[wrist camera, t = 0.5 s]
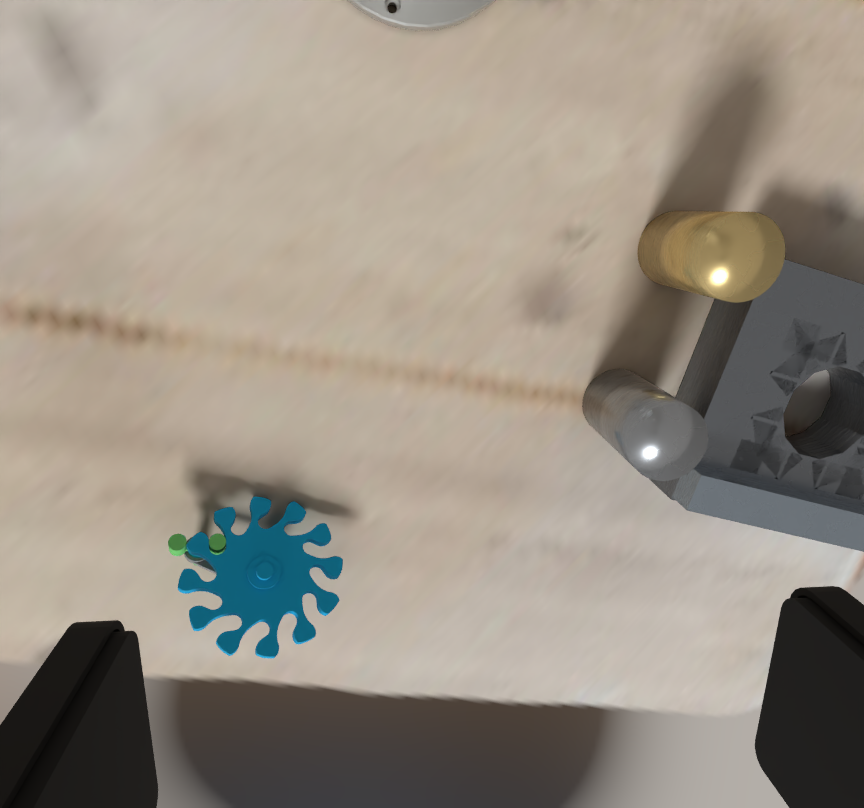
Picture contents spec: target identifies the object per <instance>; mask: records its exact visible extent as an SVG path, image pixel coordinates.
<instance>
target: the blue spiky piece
mask: <svg viewBox="0 0 864 808" xmlns="http://www.w3.org/2000/svg"><path fill="white" fill-rule="evenodd" d="M270 507H271V500H269V499H267V498H263V497H253V498H252V500H251V503H250V512H251V523H250V525H249V527H248V529H247V531H246V532H245V533H244V534H243V535H235V534H233V533H232V532H231V527H232V525H233V523H234V521H235V516H236V512H235V510H234V508H233V507H227V508H223V509H220V510H218V511H215V513H214V522H215V524H216V525H217V526H218V527H219V528H220V529H221V531H222V532H223V534H224V536H223V535H222V534H214V535H212V536H211V537H210V539H208V537H207V535H206V534H205V533H203V532H199V533H197V534H196V535H195V536H193V537H192V538H190V539H189V540H188V541H187V542H186V538H185V537H184V536H183V535H181V534H175V535H173V536H171V537H170V539H169V541H168V545H169V551H170V553H171V554H172V555H174V556H180V555H182V554H185V557H186V559H187V560H188V561H189V562H191V563H193V564H194V565H198V566H200V567H202V568H204V569H206V570H208V571H211V572H213V573H215V574H217V576H216V578H215V579H214V580H212V581H210V582H205V581H203V580H201V578H200V577H199V575H198V574H197V573H196V571H194V570H192V569H184V570H183V572H182V574H181V576H180V579H179V584H178V590H179V591H180V592H182V593H191V592H195V591H206V592H210V593H213V594H215V595H217V596H219V597H220V598H221V599H222V605H221V607H220V608H218V609H216V610H210V609H208V608H206V607H203V606H195V607H193V608H191V609H190V610H189V617H190V622H191V625H192V628H193V630H194V631H200V630H202V629H204V628H205V627H206V626H207V625H208V624H209V623H211V622H212V621H213V620H215V619H217V618H220V617H223V616H229V615H237V616H239V617H240V618H241V620H242V626H241V627H240V628H239V629H237V630H234V631H227V632H224V633H222V634H221V635H220V636H219V637H218V639H217V641H216V644H217V646H218V647H219V648H220V649H221V650H222V651H223V652H224V653H226V654H227V655H229V656H230V655H233V654H234V653H235V652H236V651H237V649H238V647H239V643H240V640H241V638H242V636H243V635H244V634H245V632H246V631H247V630H248V629H249V628H251V627H252V626H253V625H255V624H256V623H258V622H265V623H267V624H268V625H269V628H270V631H269V634H268V635H267V636H266V637H264V638H263V639H261V640H260V641H259V643H258V644H257V646H256V650H255V653H256V655H257V656H259V657H262V658H275V656H276V655H277V653H278V651H279V645H278V641H277V630H278V626H279V623H280V621H281V619H282V617H283V616H284V615H285V614H287V613H291V614H293V615H295V617H296V618H297V625H296V627H295V629H294V631H293V641H294V642H295V643H296V644H302V643H305V642H307V641H309V640H311V639H313V638H314V637H315V635H316V630H315V628H314V626H313V625H312V624H311V623H310V622H309V621H308V620H307V618H306V616H305V614H304V611H303V606H302V597H303V595H304V594H306V593H311V594H313V595H314V596H315V597H316V600H317V609H318V611H319V612H320V613H321V614H322V615H325V616H326V615H327V614H329V613H330V612H331V611H332V610H333V609H334V608H335V606H336V605H337V603H338V602H339V598H338V596H337V595H336V594H334V593H331V592H327V591H325V590H323V589H321V588H320V587H319V586H317V585H316V583H315V582H314V581H313V579H312V578H311V576H310V574H309V571H310V569H311V568H313V567H318V568H320V569H321V570H322V571H323V573H324V574H325V575H326V577H328V578H330V579H337V578H338V577H339V575H340V573H341V570H342V564H343V559H342V558H340V557H337V556H333V557H330V558H316V557H313V556H311V555H309V554H307V553H305V552H304V550H303V544H304V543H306V542H311V543H314V544H316V545H318V546H325V545H327V544H328V543H329V542H330V540H331V534H330V531H329V528H328V527H327V525H326V524H324V523H322V524H319V525H317V526H316V527H315V528H314V529H313V530H312V531H310V532H308V533H306V534H303V535H297V536H290V535H287V534H286V533H285V531H284V527H285V526H286V525H288V524H297V523H300V522H301V521H302V520H303V519H304V517H305V514H306V511H305V510H304V508H303V507H302V506H300V505H299V504H298V503H296V502H295V501H293V502H291V503H290V504H289V505H288V506H287V508H286V511H285V514H284V516H283V518H282V519H281V520H280V521H279V522H278V523H277V524H275V525H274V526H272V527H271V528H268V529H263V528H261V527H260V526H259V524H258V520H259V519H261V518H262V517H264V516H265V515H267V514H268V512H269V510H270ZM225 547H226V548H225Z"/></svg>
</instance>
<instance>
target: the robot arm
mask: <svg viewBox="0 0 864 808" xmlns="http://www.w3.org/2000/svg"><path fill="white" fill-rule="evenodd" d="M348 1H349V2H350V3H351V4H352V5H353V6H354V7H356V8H357V9H359V10H360V11H362V12H363V13H365V14H367V15H368V16H370V17H371V18H373V19H375V20H377V21H380V22H382V23H385V24H387V25H390V26H392V27H396V28H402V29H407V30H413V31H428V30H439V29H443V28H447V27H451V26H455V25H458V24H460V23H462V22H464V21H466V20H468V19H470V18H472V17H474V16H476V15H478V14H479V13H480V12H482V11H483V10H484V9H485V8H487V7H488V6H489V5H491V4H492V3H493V2H494V1H495V0H348ZM389 5H394V6H396V9H397V11H396V12H395V13H390V12H389V11H388V9H387V7H388V6H389ZM755 750H756V755H757V759H758V761H759V764H760V766H761V768H762V770H763V771H764V773H765V774H766V775H767V777H768V778H769V780H770V781H771V782H772V784H773V785H774V787H775V788H776V789H777V791H778V792H779V794H780V795H781V796H782V798H783V799H784V801H785V802H786V804H787V805H788V806H789V808H864V605H863V604H862V603H861V602H859V601H858V600H857V599H855V598H854V597H853V596H852V595H850V594H849V593H848V592H847V591H845V590H843V589H842V588H840V587H835V586H828V587H807V588H799V589H796V590H795V591H794V592H793V593H792V594H791V597H790V598H789V599H786V600H785V601H784V602H783V604H782V607H781V612H780V617H779V622H778V627H777V632H776V637H775V642H774V648H773V653H772V658H771V663H770V668H769V673H768V678H767V683H766V688H765V693H764V699H763V704H762V709H761V714H760V719H759V724H758V730H757V734H756V739H755ZM157 799H158V783H157V776H156V769H155V761H154V754H153V746H152V739H151V731H150V725H149V717H148V710H147V702H146V694H145V688H144V679H143V672H142V665H141V657H140V650H139V642H138V637H137V634H136V633H135V632H134V631H125V630H124V627H123V625H122V623H121V622H120V621H118V620H117V621H96V622H76V623H73V624H72V625H71V626H70V627H69V628H68V629H67V630H66V632H65V633H64V635H63V636H62V637H61V639H60V640H59V642H58V643H57V645H56V646H55V647H54V649H53V650H52V652H51V653H50V655H49V656H48V658H47V659H46V660H45V662H44V663H43V665H42V666H41V668H40V669H39V670H38V672H37V673H36V675H35V676H34V678H33V679H32V681H31V682H30V683H29V685H28V686H27V688H26V689H25V690H24V692H23V693H22V695H21V696H20V698H19V699H18V701H17V702H16V703H15V705H14V706H13V708H12V709H11V711H10V712H9V713H8V715H7V716H6V718H5V720H4V721H3V722H2V724H1V725H0V808H156V806H157Z"/></svg>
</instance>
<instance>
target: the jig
mask: <svg viewBox="0 0 864 808" xmlns="http://www.w3.org/2000/svg"><path fill="white" fill-rule="evenodd" d="M823 370H827V371H828V372H829V374H830V385H831V397H830V399H829V401H828V404H827V406H826V408H825V410H824V412H823V414H822V417H821V418H820V419H818V420H817V421H816V422H815V423H814V424H813V425H811V426H810V427H809V428H808V429H807V430H806V431H804V432H803V433H799V434H796V435H792V436H788V437H785V430H784V417H783V414H784V412H785V409H786V407H787V405H788V403H789V400H790V398H791V396H792V394H793V391H794V390H795V389H796V388H797V387H799V386H800V385H801V384H802V383H803V382H804V381H805V380H807V379H808V378H809V377H810V376H811V375H812V374H813V373H815V372H819V371H823ZM676 399H678V400H680V401H681V402H683V403H685V404H686V405H688V406H690V407H691V408H693V409H694V410H696V411H697V412H698V413H699V414H700V415H701V416H702V418H703V419H704V421H705V423H706V426H707V429H708V444H707V448H706V451H705V453H704V456H703V457H702V459H701V461H700V462H699V463H698V464H697V466H696V467H695V468H694V469H692V470H691V471H690V472H689V473H687V474H685V475H684V476H682V477H680V478H677V479H674V480H669V481H657V480H653V479H650V480H651V481H652V482H653V483H654V484H655V485H656V486H657V487H658V488H659V489H660V490H662V491H663V492H664V493H665V494H666V495H667V496H668V497H669V498H670V499H672V500H676V501H677V502H678V503H679V504H681V505H682V506H683V507H684V508H685V509H686V510H688V511H692V512H696V513H700V514H705V515H709V516H713V517H718V518H722V519H726V520H731V521H735V522H739V523H743V524H748V525H752V526H756V527H761V528H765V529H769V530H773V531H778V532H782V533H786V534H791V535H795V536H799V537H803V538H808V539H812V540H816V541H821V542H825V543H829V544H833V545H838V546H842V547H846V548H851V549H855V550H859V551H863V552H864V284H860V283H857V282H854V281H851V280H848V279H845V278H842V277H838V276H835V275H832V274H829V273H826V272H823V271H820V270H817V269H813V268H810V267H807V266H804V265H801V264H798V263H795V262H792V261H788V260H785V259H784V263H783V267H782V269H781V272H780V274H779V276H778V277H777V279H776V281H775V282H774V283H773V284H772V286H771V287H770V288H769V289H768V290H767V291H765V292H764V293H763V294H761V295H760V296H758V297H756V298H754V299H752V300H749V301H745V302H738V303H735V302H728V301H724V300H720V299H716V298H715V300H714V303H713V305H712V308H711V310H710V313H709V315H708V318H707V320H706V323H705V325H704V328H703V330H702V333H701V335H700V338H699V340H698V343H697V345H696V348H695V350H694V353H693V355H692V358H691V360H690V363H689V365H688V368H687V371H686V373H685V376H684V378H683V381H682V383H681V386H680V388H679V391H678V393H677V396H676Z"/></svg>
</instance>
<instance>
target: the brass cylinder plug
mask: <svg viewBox="0 0 864 808" xmlns="http://www.w3.org/2000/svg"><path fill="white" fill-rule="evenodd" d="M784 259H785V242H784V238H783V235H782V233H781V230H780V229H779V227H778V226H777V225H776V223H775V222H774V221H772V220H771V219H770V218H768V217H767V216H765V215H763V214H760V213H756V212H711V211H672V212H667V213H664V214H662V215H660V216H658V217H657V218H655V219H654V220H653V221H651V222H650V224H649V225H648V226H647V227H646V228H645V230H644V232H643V233H642V235H641V238H640V241H639V245H638V260H639V264H640V267H641V269H642V271H643V272H644V274H645V275H646V276H647V277H648V278H649V279H651V280H652V281H654V282H655V283H658V284H661V285H665V286H669V287H673V288H677V289H681V290H685V291H688V292H692V293H696V294H700V295H704V296H708V297H712V298H716V299H720V300H724V301H728V302H735V303H738V302H745V301H749V300H752V299H754V298H756V297H758V296H760V295H761V294H763V293H764V292H765V291H767V290H768V289H769V288H770V287H771V286H772V284H773V283H774V282H775V281H776V279H777V277H778V276H779V274H780V272H781V269H782V267H783V263H784Z"/></svg>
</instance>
